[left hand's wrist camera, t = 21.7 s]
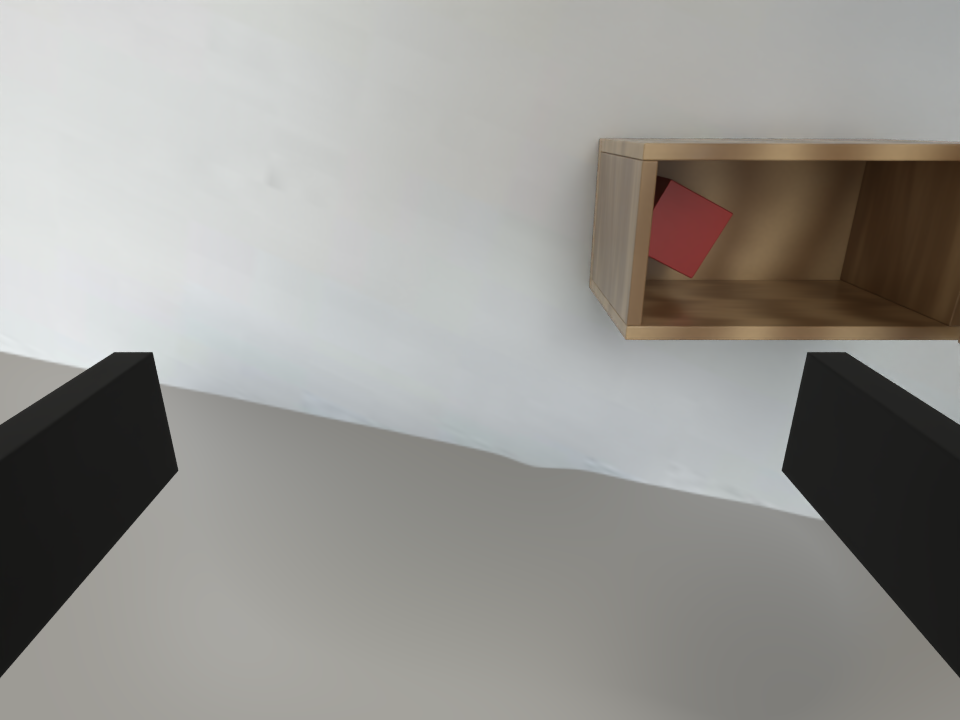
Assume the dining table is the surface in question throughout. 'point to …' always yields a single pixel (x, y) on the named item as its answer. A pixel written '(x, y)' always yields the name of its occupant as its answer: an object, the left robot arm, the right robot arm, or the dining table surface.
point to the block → (683, 226)
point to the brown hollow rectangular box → (786, 240)
